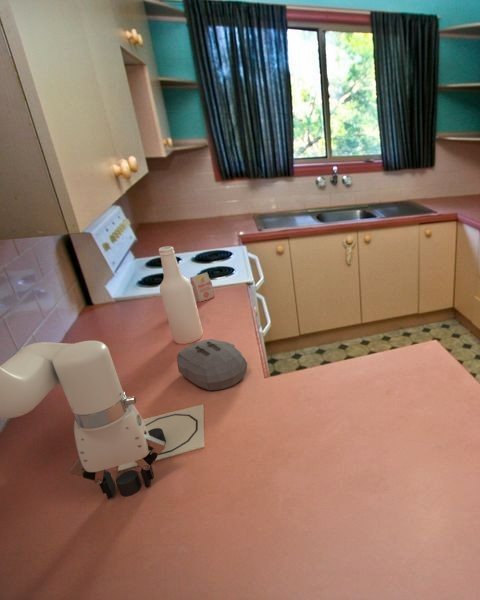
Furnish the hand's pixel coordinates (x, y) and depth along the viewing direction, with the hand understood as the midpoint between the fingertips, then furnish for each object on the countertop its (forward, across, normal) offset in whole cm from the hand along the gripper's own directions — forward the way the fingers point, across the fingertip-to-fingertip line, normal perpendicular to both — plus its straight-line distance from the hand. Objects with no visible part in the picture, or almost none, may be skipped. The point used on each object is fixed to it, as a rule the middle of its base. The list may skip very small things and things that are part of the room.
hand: (130, 486), depth 81 cm
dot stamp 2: (0, -4, -11) cm, 12 cm away
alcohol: (+1, -9, -62) cm, 63 cm away
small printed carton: (+1, -14, -95) cm, 96 cm away
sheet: (0, -5, -14) cm, 15 cm away
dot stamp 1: (0, 0, 0) cm, 0 cm away
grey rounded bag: (+1, -16, -35) cm, 39 cm away
